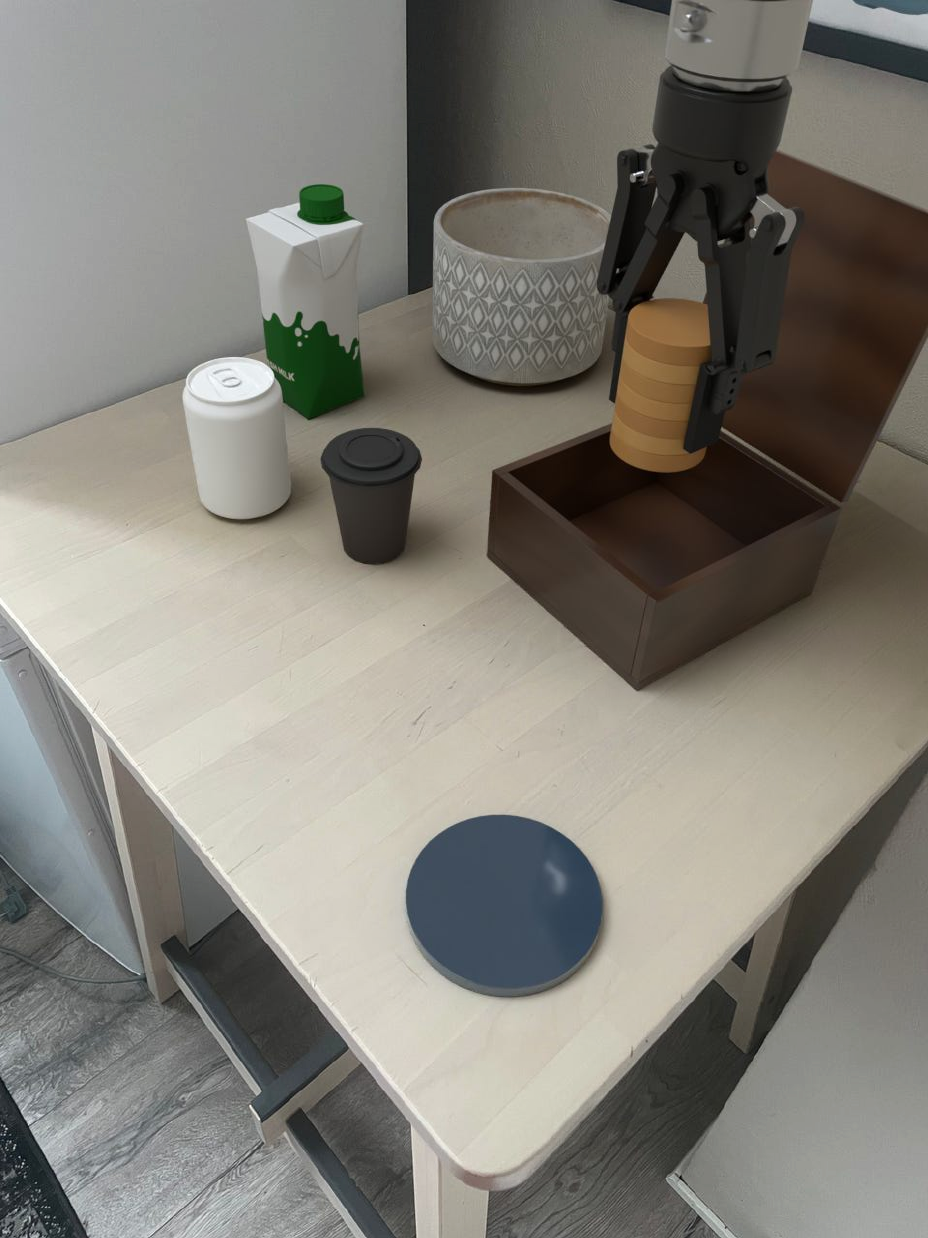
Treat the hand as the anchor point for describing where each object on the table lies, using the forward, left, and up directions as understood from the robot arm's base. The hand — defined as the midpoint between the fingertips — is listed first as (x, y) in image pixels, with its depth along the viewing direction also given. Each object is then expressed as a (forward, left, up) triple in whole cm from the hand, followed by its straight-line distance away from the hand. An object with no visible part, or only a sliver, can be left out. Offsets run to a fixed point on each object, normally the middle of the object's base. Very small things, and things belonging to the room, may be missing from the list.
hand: (661, 419), depth 74 cm
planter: (+36, -16, -16) cm, 43 cm away
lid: (0, -14, +3) cm, 15 cm away
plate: (-18, +27, -16) cm, 36 cm away
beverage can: (+28, +21, -16) cm, 39 cm away
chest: (0, -2, -16) cm, 16 cm away
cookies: (0, 0, -2) cm, 2 cm away
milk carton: (+40, +7, -16) cm, 44 cm away
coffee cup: (+16, +15, -16) cm, 27 cm away
